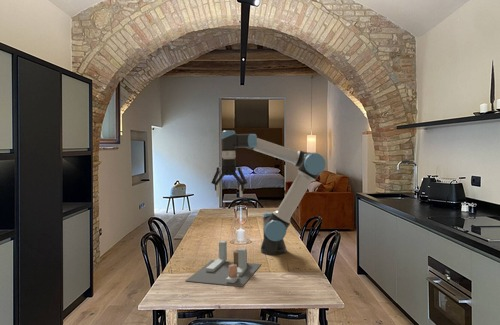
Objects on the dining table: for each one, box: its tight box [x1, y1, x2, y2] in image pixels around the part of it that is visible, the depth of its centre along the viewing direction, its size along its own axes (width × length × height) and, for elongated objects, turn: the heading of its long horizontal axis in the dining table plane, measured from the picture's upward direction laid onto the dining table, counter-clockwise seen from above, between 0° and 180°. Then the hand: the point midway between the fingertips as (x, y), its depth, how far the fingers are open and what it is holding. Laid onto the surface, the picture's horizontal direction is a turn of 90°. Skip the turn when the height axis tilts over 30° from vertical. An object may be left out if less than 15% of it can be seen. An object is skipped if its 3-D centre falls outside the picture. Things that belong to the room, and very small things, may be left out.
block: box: [232, 249, 248, 266], centre depth 197 cm, size 6×6×7 cm
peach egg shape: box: [229, 264, 237, 278], centre depth 173 cm, size 4×4×5 cm
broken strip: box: [226, 247, 248, 283], centre depth 179 cm, size 20×4×10 cm, turn 163°
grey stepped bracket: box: [206, 240, 228, 272], centre depth 195 cm, size 20×4×10 cm, turn 163°
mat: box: [185, 259, 262, 288], centre depth 185 cm, size 32×28×1 cm
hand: (229, 196), depth 207 cm, fingers open, 13 cm apart
